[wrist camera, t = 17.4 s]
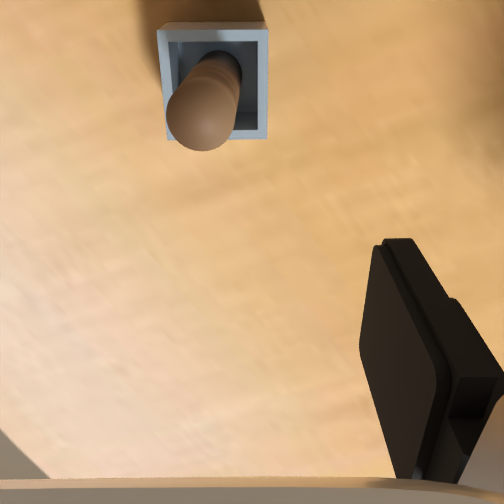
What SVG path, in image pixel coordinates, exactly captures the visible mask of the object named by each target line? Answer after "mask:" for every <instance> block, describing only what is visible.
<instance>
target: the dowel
mask: <svg viewBox="0 0 504 504" xmlns="http://www.w3.org/2000/svg"><path fill="white" fill-rule="evenodd" d="M241 83H242V69H241V66H240V64H239V62H238V60H237V59H236V58H235V57H234V56H233V55H232V54H230V53H228V52H226V51H222V50H214V51H211V52H208V53H207V54H205V55H204V56H203V57H202V58H201V59H200V60H199V62H198V63H197V64H196V65H195V67H194V68H193V69H192V70H191V72H190V73H189V74H188V76H187V77H186V78H185V79H184V81H183V82H182V83H181V84H180V86H179V87H178V88H177V89H176V91H175V92H174V93H173V94H172V96H171V97H170V99H169V101H168V104H167V108H166V121H167V125H168V128H169V130H170V132H171V134H172V135H173V137H174V138H175V139H176V140H177V141H178V142H179V143H180V144H182V145H183V146H185V147H187V148H189V149H192V150H196V151H209V150H213V149H215V148H217V147H219V146H221V145H222V144H223V143H224V142H226V140H227V139H228V138H229V136H230V135H231V133H232V131H233V127H234V123H235V117H236V111H237V105H238V100H239V94H240V88H241Z"/></svg>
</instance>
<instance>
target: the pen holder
mask: <svg viewBox="0 0 504 504" xmlns="http://www.w3.org/2000/svg"><path fill="white" fill-rule="evenodd" d="M156 31H157V41H158V51H159V61H160V71H161V81H162V91H163V101H164V111H165V121H166V108H167V104H168V101H169V99H170V97H171V96H172V94H173V93H174V92H175V91H176V89H177V88H178V87H179V86H180V84H181V83H182V82H183V81H184V79H185V78H186V77H187V76H188V74H189V73H190V72H191V70H192V69H193V68H194V67H195V65H196V64H197V63H198V62H199V60H200V59H201V58H202V57H203V56H204V55H205V54H207V53H208V52H211V51H214V50H222V51H226V52H228V53H230V54H232V55H233V56H234V57H235V58H236V59H237V60H238V62H239V64H240V66H241V69H242V83H241V88H240V94H239V100H238V105H237V111H236V117H235V123H234V127H233V131H232V133H231V135H230V136H229V138H228V139H227V140H231V139H267V111H268V27H267V25H266V22H265V21H226V22H168V23H166V24H165V25H163V26H162V27H161V28H159V29H158V30H156ZM166 131H167V140H176V139H175V138H174V137H173V135H172V134H171V132H170V130H169V128H168V125H167V121H166Z"/></svg>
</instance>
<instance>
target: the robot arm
mask: <svg viewBox="0 0 504 504" xmlns="http://www.w3.org/2000/svg"><path fill="white" fill-rule="evenodd" d="M359 351H360V357H361V361H362V364H363V367H364V371H365V374H366V378H367V381H368V384H369V388H370V391H371V394H372V398H373V401H374V404H375V408H376V411H377V414H378V418H379V421H380V425H381V428H382V431H383V435H384V438H385V441H386V445H387V448H388V451H389V455H390V458H391V462H392V465H393V468H394V472H395V475H396V478H378V477H183V478H95V479H28V480H0V504H504V371H503V370H502V368H501V367H500V365H499V364H498V362H497V361H496V359H495V357H494V356H493V354H492V353H491V351H490V350H489V348H488V346H487V345H486V343H485V342H484V340H483V339H482V337H481V336H480V334H479V332H478V331H477V329H476V328H475V326H474V325H473V323H472V322H471V320H470V318H469V317H468V315H467V314H466V312H465V311H464V309H463V308H462V306H461V304H460V303H459V302H458V301H457V300H456V299H454V298H449V297H448V295H447V293H446V292H445V290H444V289H443V287H442V285H441V284H440V282H439V281H438V279H437V277H436V276H435V274H434V273H433V271H432V269H431V268H430V266H429V264H428V263H427V261H426V260H425V258H424V256H423V255H422V253H421V252H420V250H419V248H418V247H417V245H416V244H415V242H414V240H413V239H411V238H392V239H384V240H383V242H382V244H381V245H375V246H374V248H373V251H372V258H371V265H370V271H369V278H368V285H367V292H366V299H365V305H364V312H363V319H362V326H361V333H360V339H359Z"/></svg>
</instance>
